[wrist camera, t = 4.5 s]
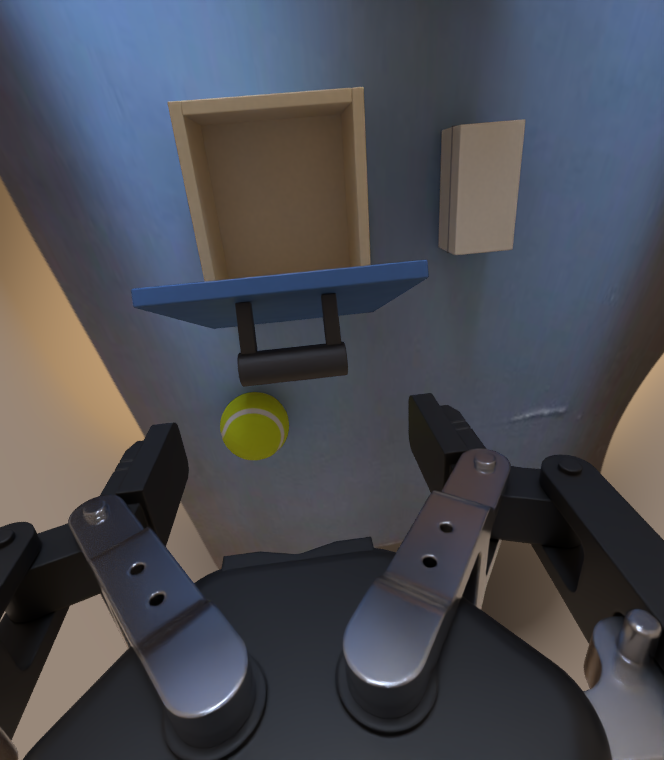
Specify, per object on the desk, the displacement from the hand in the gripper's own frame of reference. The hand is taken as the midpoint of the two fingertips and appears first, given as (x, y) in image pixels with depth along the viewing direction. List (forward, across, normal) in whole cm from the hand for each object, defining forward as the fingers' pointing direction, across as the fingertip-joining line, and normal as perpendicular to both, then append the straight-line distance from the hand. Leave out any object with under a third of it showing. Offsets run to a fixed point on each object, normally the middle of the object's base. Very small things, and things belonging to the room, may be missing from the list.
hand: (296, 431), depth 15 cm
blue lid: (+13, 0, -1) cm, 13 cm away
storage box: (+28, 0, -5) cm, 28 cm away
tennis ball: (+28, +5, +14) cm, 32 cm away
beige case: (+28, -16, -6) cm, 33 cm away
